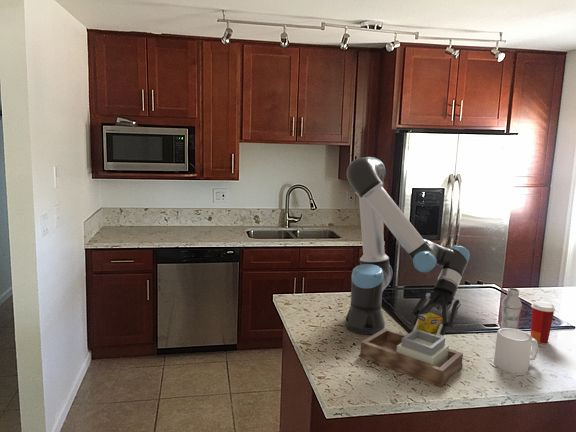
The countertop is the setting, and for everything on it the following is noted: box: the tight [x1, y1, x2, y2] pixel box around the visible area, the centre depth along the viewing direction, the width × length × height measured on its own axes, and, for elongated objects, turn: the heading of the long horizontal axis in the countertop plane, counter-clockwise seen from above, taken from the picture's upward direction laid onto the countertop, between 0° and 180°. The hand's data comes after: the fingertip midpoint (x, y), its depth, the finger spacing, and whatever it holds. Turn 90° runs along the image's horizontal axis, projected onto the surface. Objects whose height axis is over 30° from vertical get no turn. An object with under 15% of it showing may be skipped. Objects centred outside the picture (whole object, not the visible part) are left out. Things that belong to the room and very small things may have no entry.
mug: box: [493, 328, 539, 374], centre depth 151 cm, size 14×10×11 cm
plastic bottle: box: [499, 287, 523, 330], centre depth 167 cm, size 6×7×20 cm
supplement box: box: [418, 311, 443, 335], centre depth 164 cm, size 6×6×11 cm
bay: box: [359, 327, 464, 388], centre depth 152 cm, size 28×17×5 cm, turn 49°
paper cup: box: [530, 300, 556, 345], centre depth 170 cm, size 8×8×14 cm
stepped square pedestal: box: [397, 329, 450, 368], centre depth 149 cm, size 12×12×8 cm
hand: (424, 338), depth 162 cm, fingers closed on supplement box, 7 cm apart
